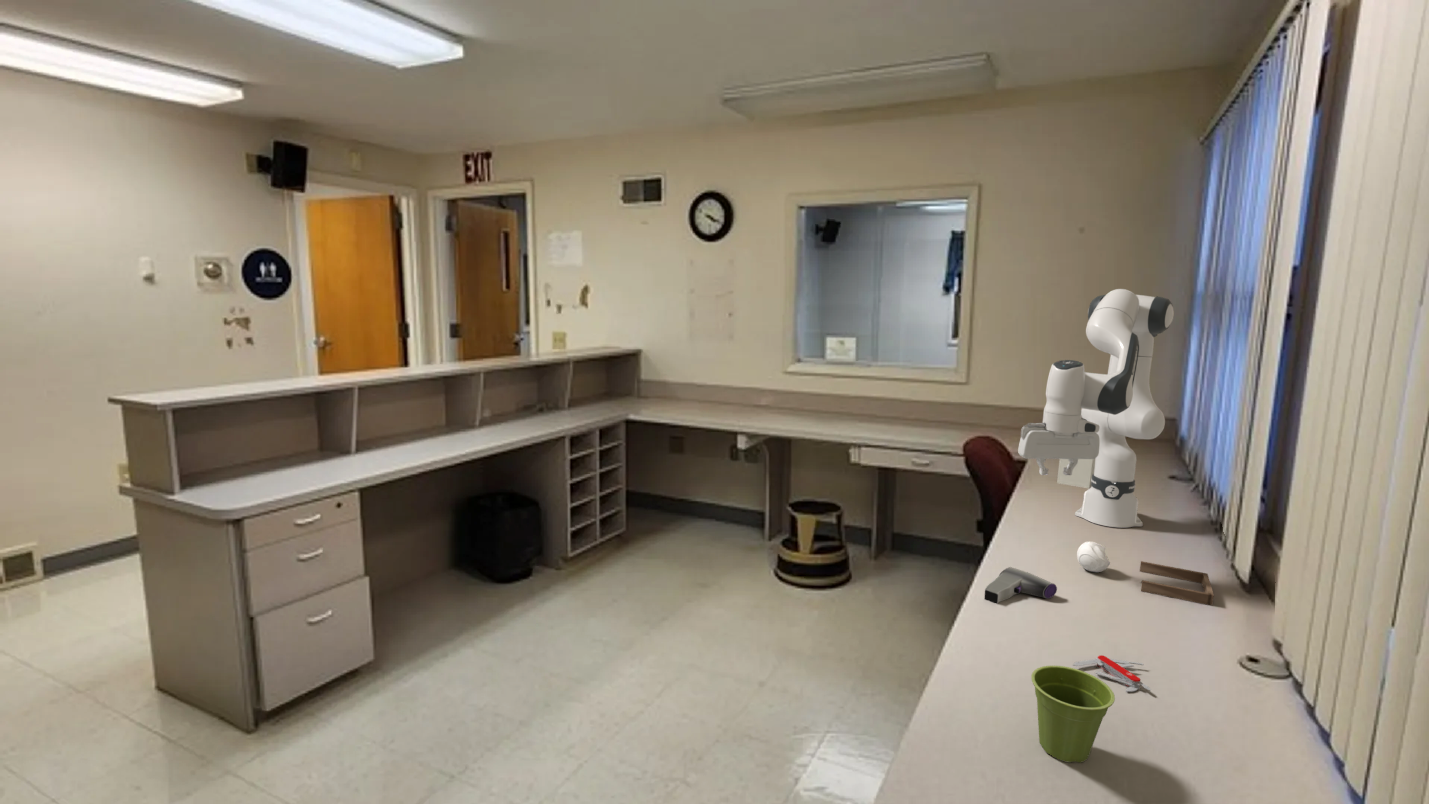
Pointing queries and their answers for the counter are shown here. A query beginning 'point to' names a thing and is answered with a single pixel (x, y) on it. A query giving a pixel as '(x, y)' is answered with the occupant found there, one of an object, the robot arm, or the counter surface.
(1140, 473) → the counter surface
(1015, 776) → the counter surface
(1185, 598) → the bay
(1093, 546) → the white sculpted ball
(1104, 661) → the swiss army knife
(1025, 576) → the infrared thermometer
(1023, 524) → the counter surface
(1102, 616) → the counter surface
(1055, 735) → the plant pot
